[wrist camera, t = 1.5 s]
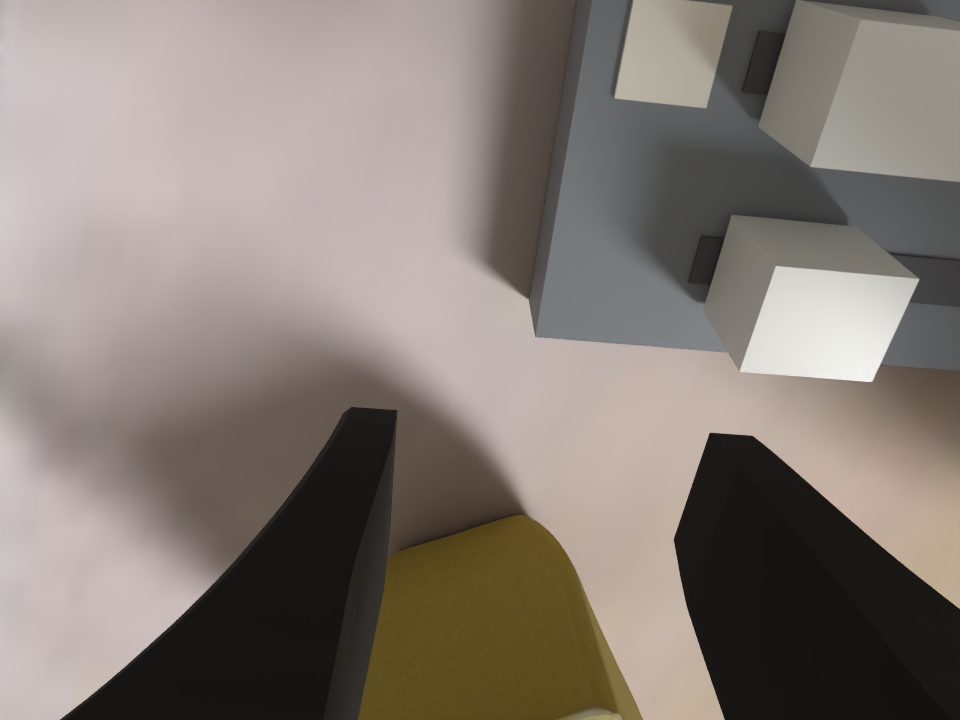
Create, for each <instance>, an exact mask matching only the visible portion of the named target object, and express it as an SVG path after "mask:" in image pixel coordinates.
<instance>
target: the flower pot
mask: <svg viewBox="0 0 960 720" xmlns="http://www.w3.org/2000/svg"><path fill="white" fill-rule="evenodd" d="M358 720H643V719H642V716H641V714H640V712H639V709H638V707H637V705H636V702H635V700H634V698H633V696H632V694H631V692H630V690H629V687H628V685H627V683H626V681H625V679H624V677H623V675H622V673H621V671H620V669H619V667H618V665H617V663H616V661H615V658H614V656H613V654H612V652H611V650H610V648H609V646H608V643H607V641H606V639H605V637H604V635H603V633H602V630H601V628H600V626H599V624H598V621H597V619H596V617H595V615H594V612H593V610H592V608H591V606H590V603H589V601H588V599H587V596H586V594H585V591H584V589H583V586H582V584H581V581H580V579H579V577H578V575H577V572H576V570H575V568H574V566H573V564H572V563H571V561H570V559H569V557H568V555H567V554H566V552H565V551H564V549H563V548H562V546H561V545H560V543H559V542H558V541H557V540H556V538H555V537H554V536H553V535H552V534H551V533H550V532H549V531H548V530H547V529H546V528H545V527H543V526H542V525H541V524H540V523H538V522H536V521H535V520H533V519H531V518H530V517H528V516H526V515H513V516H510V517H506V518H503V519H500V520H496V521H493V522H490V523H487V524H484V525H481V526H478V527H475V528H472V529H469V530H466V531H463V532H460V533H457V534H453V535H450V536H447V537H443V538H440V539H436V540H433V541H430V542H427V543H424V544H420V545H417V546H413V547H410V548H407V549H404V550H401V551H398V552H396V553H394V554H393V555H391V556H390V557H389V558H387V563H386V573H385V583H384V592H383V597H382V602H381V607H380V612H379V617H378V622H377V627H376V632H375V637H374V642H373V647H372V652H371V657H370V662H369V667H368V672H367V677H366V682H365V686H364V691H363V696H362V701H361V706H360V711H359V716H358Z"/></svg>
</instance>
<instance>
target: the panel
mask: <svg viewBox="0 0 960 720" xmlns="http://www.w3.org/2000/svg"><path fill="white" fill-rule="evenodd" d="M803 1H812V2H820V3H828V4H837V5H845V6H853V7H862V8H870V9H878V10H887V11H895V12H903V13H912V14H920V15H929V16H937V17H942V18H946V19H950V20H954V21H958V22H960V0H803ZM795 2H796V0H577V2H576V9H575V15H574V21H573V28H572V34H571V40H570V46H569V53H568V59H567V65H566V71H565V78H564V84H563V90H562V97H561V103H560V109H559V115H558V122H557V128H556V134H555V140H554V147H553V153H552V159H551V166H550V172H549V178H548V184H547V191H546V197H545V203H544V209H543V216H542V222H541V228H540V235H539V241H538V247H537V253H536V260H535V266H534V272H533V278H532V285H531V291H530V297H529V304H530V309H531V315H532V321H533V326H534V332H535V337H543V338H555V339H567V340H580V341H592V342H605V343H617V344H629V345H642V346H654V347H666V348H679V349H691V350H704V351H716V352H728V351H727V350H726V348H725V346H724V345H723V343H722V341H721V340H720V338H719V336H718V335H717V333H716V331H715V330H714V328H713V326H712V324H711V323H710V321H709V319H708V318H707V316H706V314H705V313H704V311H703V309H704V306H705V302H706V299H707V296H708V292H709V289H710V286H711V282H712V279H713V276H714V272H715V269H716V266H717V262H718V259H719V256H720V252H721V249H722V246H723V242H724V239H725V236H726V232H727V229H728V226H729V222H730V219H731V216H732V215H741V216H751V217H762V218H772V219H782V220H793V221H803V222H814V223H824V224H835V225H845V226H856V227H857V228H859V229H860V230H861V231H862V232H863V233H865V234H866V235H867V236H868V237H870V238H871V239H872V240H873V241H874V242H876V243H877V244H878V245H879V246H880V247H882V248H883V249H884V250H885V251H886V252H888V253H889V254H890V255H891V256H892V257H894V258H895V259H896V260H897V261H898V262H900V263H901V264H902V265H903V266H905V267H906V268H907V269H908V270H909V271H911V272H912V273H913V274H914V275H915V276H917V277H918V278H919V281H918V284H917V286H916V288H915V290H914V292H913V294H912V297H911V299H910V301H909V303H908V305H907V307H906V310H905V312H904V314H903V316H902V318H901V320H900V323H899V325H898V327H897V329H896V331H895V333H894V336H893V338H892V340H891V342H890V344H889V346H888V349H887V351H886V353H885V355H884V357H883V359H882V362H881V364H880V365H889V366H902V367H914V368H926V369H939V370H951V371H960V182H954V181H944V180H934V179H924V178H914V177H905V176H895V175H885V174H875V173H865V172H856V171H846V170H836V169H826V168H816V167H810V166H808V165H807V164H806V163H805V162H803V161H802V160H801V159H799V158H798V157H797V156H795V155H794V154H793V153H792V152H790V151H789V150H788V149H786V148H785V147H784V146H782V145H781V144H780V143H778V142H777V141H776V140H775V139H773V138H772V137H771V136H769V135H768V134H767V133H765V132H764V131H763V130H762V129H760V128H759V127H758V126H759V122H760V119H761V116H762V112H763V109H764V106H765V102H766V99H767V96H768V92H769V89H770V86H771V82H772V79H773V76H774V72H775V69H776V66H777V62H778V59H779V56H780V52H781V49H782V46H783V42H784V39H785V36H786V32H787V29H788V26H789V22H790V19H791V16H792V12H793V9H794V6H795Z"/></svg>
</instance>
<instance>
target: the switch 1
mask: <svg viewBox="0 0 960 720" xmlns="http://www.w3.org/2000/svg"><path fill="white" fill-rule="evenodd" d="M758 127H759V128H760V129H762V130H763V131H764V132H765V133H767V134H768V135H769V136H771V137H772V138H773V139H775V140H776V141H777V142H778V143H780V144H781V145H782V146H784V147H785V148H786V149H788V150H789V151H790V152H792V153H793V154H794V155H795V156H797V157H798V158H799V159H801V160H802V161H803V162H805V163H806V164H807V165H808V166H810V167H816V168H826V169H836V170H846V171H856V172H865V173H875V174H885V175H895V176H905V177H914V178H924V179H934V180H944V181H954V182H960V22H958V21H954V20H950V19H946V18H942V17H937V16H929V15H920V14H912V13H903V12H895V11H887V10H878V9H870V8H862V7H853V6H845V5H837V4H828V3H820V2H812V1H803V0H796V2H795V6H794V9H793V12H792V16H791V19H790V22H789V26H788V29H787V32H786V36H785V39H784V42H783V46H782V49H781V52H780V56H779V59H778V62H777V66H776V69H775V72H774V76H773V79H772V82H771V86H770V89H769V92H768V96H767V99H766V102H765V106H764V109H763V112H762V116H761V119H760V122H759V126H758Z"/></svg>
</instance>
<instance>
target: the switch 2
mask: <svg viewBox="0 0 960 720" xmlns="http://www.w3.org/2000/svg"><path fill="white" fill-rule="evenodd" d="M918 281H919V278H918V277H917V276H915V275H914V274H913V273H912V272H911V271H909V270H908V269H907V268H906V267H905V266H903V265H902V264H901V263H900V262H898V261H897V260H896V259H895V258H894V257H892V256H891V255H890V254H889V253H888V252H886V251H885V250H884V249H883V248H882V247H880V246H879V245H878V244H877V243H876V242H874V241H873V240H872V239H871V238H870V237H868V236H867V235H866V234H865V233H863V232H862V231H861V230H860V229H859V228H857V227H856V226H845V225H835V224H824V223H814V222H803V221H793V220H782V219H772V218H762V217H751V216H741V215H732V216H731V219H730V222H729V226H728V229H727V232H726V236H725V239H724V242H723V246H722V249H721V252H720V256H719V259H718V262H717V266H716V269H715V272H714V276H713V279H712V282H711V286H710V289H709V292H708V296H707V299H706V302H705V306H704V309H703V311H704V313H705V314H706V316H707V318H708V319H709V321H710V323H711V324H712V326H713V328H714V330H715V331H716V333H717V335H718V336H719V338H720V340H721V341H722V343H723V345H724V346H725V348H726V350H727V351H728V353H729V355H730V357H731V358H732V360H733V362H734V363H735V365H736V367H737V368H738V370H739V372H750V373H763V374H776V375H788V376H801V377H814V378H826V379H839V380H852V381H864V382H872V381H873V379H874V377H875V375H876V372H877V370H878V368H879V366H880V364H881V362H882V359H883V357H884V355H885V353H886V351H887V349H888V346H889V344H890V342H891V340H892V338H893V336H894V333H895V331H896V329H897V327H898V325H899V323H900V320H901V318H902V316H903V314H904V312H905V310H906V307H907V305H908V303H909V301H910V299H911V297H912V294H913V292H914V290H915V288H916V286H917V284H918Z"/></svg>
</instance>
